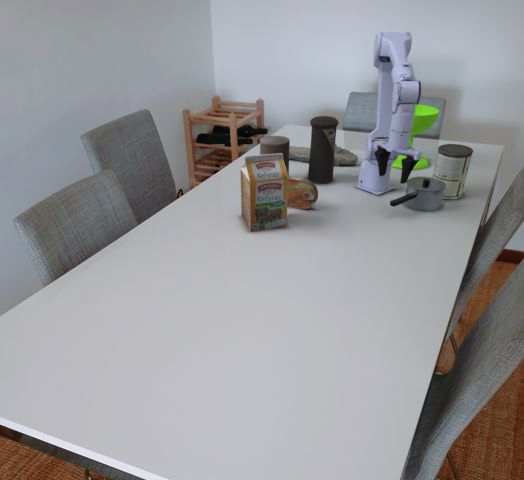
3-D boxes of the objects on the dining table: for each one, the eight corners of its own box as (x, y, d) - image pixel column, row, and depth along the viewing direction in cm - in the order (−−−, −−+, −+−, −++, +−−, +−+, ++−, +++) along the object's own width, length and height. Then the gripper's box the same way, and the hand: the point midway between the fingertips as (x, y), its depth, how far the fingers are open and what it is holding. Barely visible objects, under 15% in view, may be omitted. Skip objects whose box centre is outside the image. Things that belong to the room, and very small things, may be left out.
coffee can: (426, 187, 169) (435, 143, 160) (458, 188, 168) (469, 144, 159) (431, 199, 161) (441, 153, 152) (465, 200, 160) (476, 154, 151)
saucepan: (374, 211, 153) (378, 186, 148) (417, 193, 164) (422, 170, 160) (406, 224, 146) (410, 198, 141) (448, 204, 157) (454, 180, 153)
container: (331, 185, 170) (337, 121, 157) (305, 183, 171) (308, 120, 159) (334, 176, 176) (340, 114, 164) (308, 174, 178) (312, 113, 165)
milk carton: (250, 231, 142) (249, 162, 130) (241, 216, 150) (240, 150, 138) (286, 227, 144) (288, 159, 132) (275, 212, 152) (277, 147, 140)
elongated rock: (272, 153, 200) (263, 162, 193) (271, 139, 196) (262, 148, 190) (360, 159, 189) (354, 169, 182) (361, 144, 185) (355, 154, 178)
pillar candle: (288, 187, 168) (290, 140, 159) (259, 186, 169) (259, 139, 159) (288, 176, 176) (289, 131, 167) (260, 176, 176) (260, 130, 167)
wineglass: (376, 158, 192) (383, 106, 180) (410, 152, 197) (419, 102, 186) (402, 171, 180) (411, 117, 169) (438, 165, 186) (449, 112, 174)
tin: (269, 202, 158) (270, 175, 153) (274, 199, 160) (274, 172, 155) (314, 211, 153) (316, 184, 147) (318, 208, 155) (320, 180, 150)
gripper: (370, 126, 141) (364, 175, 149) (414, 138, 132) (405, 189, 141) (386, 122, 145) (379, 170, 153) (430, 133, 136) (419, 183, 145)
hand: (392, 179), depth 147 cm, fingers open, 7 cm apart
